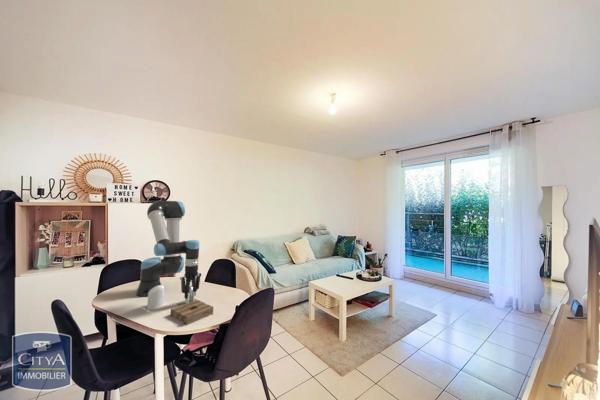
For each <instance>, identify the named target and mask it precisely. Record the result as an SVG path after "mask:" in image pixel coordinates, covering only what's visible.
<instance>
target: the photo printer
mask: <svg viewBox="0 0 600 400" xmlns="http://www.w3.org/2000/svg"><path fill="white" fill-rule="evenodd" d="M164 303H165V286H164V285H162V284H161V285H159V286H156V287H154V288H152V289H151V290H150V291H149V292H148V296H147V307H146V309H147V311H153V310H155V309H158V308H159V307H161V306H162V305H164Z"/></svg>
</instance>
